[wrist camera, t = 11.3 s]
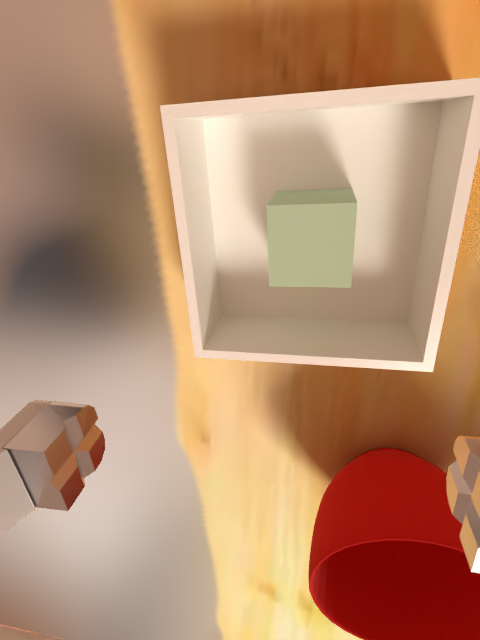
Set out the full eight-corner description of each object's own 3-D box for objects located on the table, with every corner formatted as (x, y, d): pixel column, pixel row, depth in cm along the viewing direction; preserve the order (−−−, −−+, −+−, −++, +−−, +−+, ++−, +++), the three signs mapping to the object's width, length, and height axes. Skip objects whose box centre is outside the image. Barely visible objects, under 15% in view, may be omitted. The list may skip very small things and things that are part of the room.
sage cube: (352, 188, 22) (357, 202, 18) (347, 261, 24) (351, 287, 20) (276, 191, 23) (266, 205, 19) (278, 260, 25) (269, 286, 21)
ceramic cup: (305, 535, 39) (299, 653, 30) (319, 409, 31) (315, 520, 22) (439, 559, 37) (474, 695, 28) (491, 430, 29) (562, 564, 20)
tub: (453, 87, 20) (494, 76, 15) (413, 326, 26) (432, 372, 21) (195, 108, 23) (159, 105, 18) (216, 318, 29) (195, 357, 24)
